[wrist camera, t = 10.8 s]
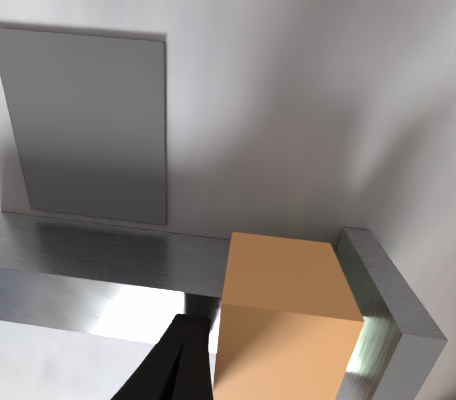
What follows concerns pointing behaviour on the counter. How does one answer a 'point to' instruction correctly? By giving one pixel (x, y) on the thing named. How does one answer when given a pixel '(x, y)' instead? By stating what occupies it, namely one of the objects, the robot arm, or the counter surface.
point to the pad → (88, 122)
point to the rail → (199, 293)
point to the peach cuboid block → (284, 321)
